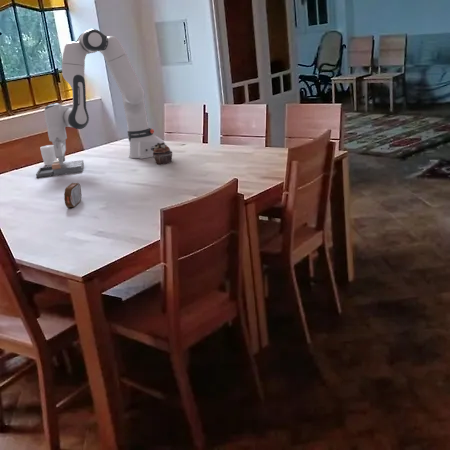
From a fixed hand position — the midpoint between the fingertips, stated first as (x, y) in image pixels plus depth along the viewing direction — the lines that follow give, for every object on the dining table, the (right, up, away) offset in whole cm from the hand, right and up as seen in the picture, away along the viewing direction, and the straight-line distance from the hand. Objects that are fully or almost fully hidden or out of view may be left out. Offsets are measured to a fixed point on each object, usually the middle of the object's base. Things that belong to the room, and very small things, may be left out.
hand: (62, 163), depth 328 cm
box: (-8, -5, 0) cm, 10 cm away
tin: (+22, -24, -66) cm, 74 cm away
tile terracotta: (-2, -3, -3) cm, 5 cm away
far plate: (+3, -4, +2) cm, 5 cm away
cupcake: (+52, -1, -6) cm, 53 cm away
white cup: (-12, +1, +24) cm, 27 cm away
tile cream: (-3, 0, +4) cm, 5 cm away
